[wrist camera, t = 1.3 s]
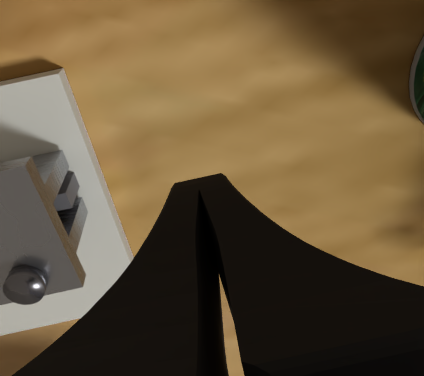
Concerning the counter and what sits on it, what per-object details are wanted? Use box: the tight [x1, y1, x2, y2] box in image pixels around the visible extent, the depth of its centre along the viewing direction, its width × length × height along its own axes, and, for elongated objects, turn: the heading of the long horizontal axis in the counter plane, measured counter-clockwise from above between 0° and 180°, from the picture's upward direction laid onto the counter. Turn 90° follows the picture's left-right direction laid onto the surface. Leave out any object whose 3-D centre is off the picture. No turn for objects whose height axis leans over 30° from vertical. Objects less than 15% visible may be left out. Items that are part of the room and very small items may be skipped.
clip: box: [0, 150, 88, 305], centre depth 17 cm, size 6×4×5 cm, turn 11°
